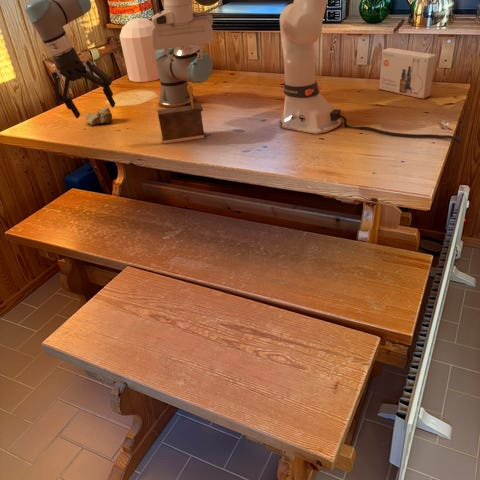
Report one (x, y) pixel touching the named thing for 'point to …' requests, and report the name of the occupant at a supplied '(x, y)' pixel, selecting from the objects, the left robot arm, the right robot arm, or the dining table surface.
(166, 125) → the chest
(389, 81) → the skincare box
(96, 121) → the rock
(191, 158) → the dining table surface
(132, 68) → the container
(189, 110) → the lid
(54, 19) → the left robot arm
